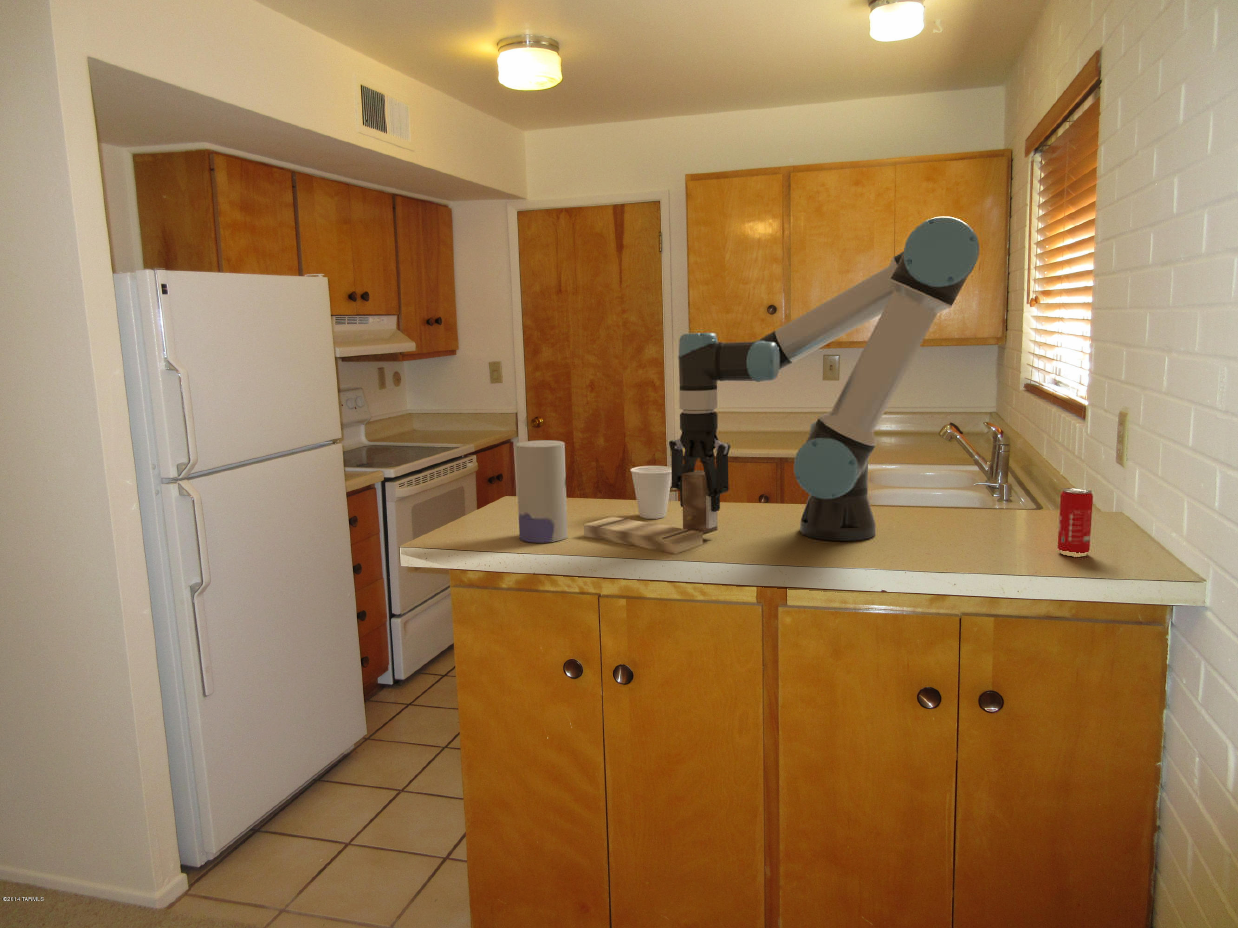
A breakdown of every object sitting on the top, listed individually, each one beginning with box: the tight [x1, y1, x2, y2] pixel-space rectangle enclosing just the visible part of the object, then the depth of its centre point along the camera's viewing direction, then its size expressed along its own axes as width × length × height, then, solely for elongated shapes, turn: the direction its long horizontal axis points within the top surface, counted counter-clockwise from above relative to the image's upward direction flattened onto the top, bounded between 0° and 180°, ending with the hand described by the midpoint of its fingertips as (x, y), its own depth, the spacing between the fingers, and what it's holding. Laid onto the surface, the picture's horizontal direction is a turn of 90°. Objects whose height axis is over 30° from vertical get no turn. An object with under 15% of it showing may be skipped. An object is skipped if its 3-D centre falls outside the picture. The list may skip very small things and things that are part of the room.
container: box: [515, 439, 568, 544], centre depth 176 cm, size 10×10×20 cm
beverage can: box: [1057, 487, 1094, 553], centre depth 156 cm, size 5×5×12 cm
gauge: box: [682, 469, 718, 536], centre depth 172 cm, size 5×6×12 cm
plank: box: [583, 516, 704, 555], centre depth 174 cm, size 24×9×3 cm, turn 49°
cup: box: [630, 465, 672, 520], centre depth 195 cm, size 10×10×11 cm
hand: (700, 524), depth 173 cm, fingers closed on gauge, 5 cm apart
